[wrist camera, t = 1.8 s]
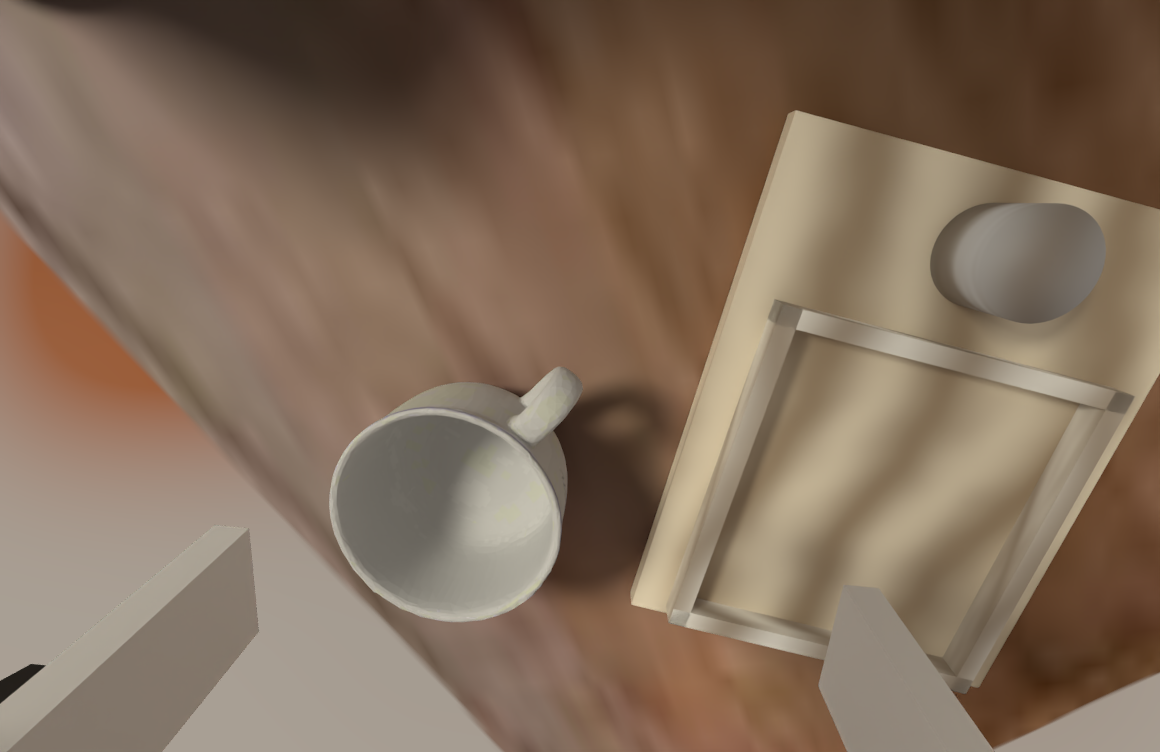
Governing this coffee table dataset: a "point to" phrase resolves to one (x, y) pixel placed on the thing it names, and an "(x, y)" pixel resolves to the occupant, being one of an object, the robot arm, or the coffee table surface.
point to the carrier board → (903, 397)
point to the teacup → (457, 498)
